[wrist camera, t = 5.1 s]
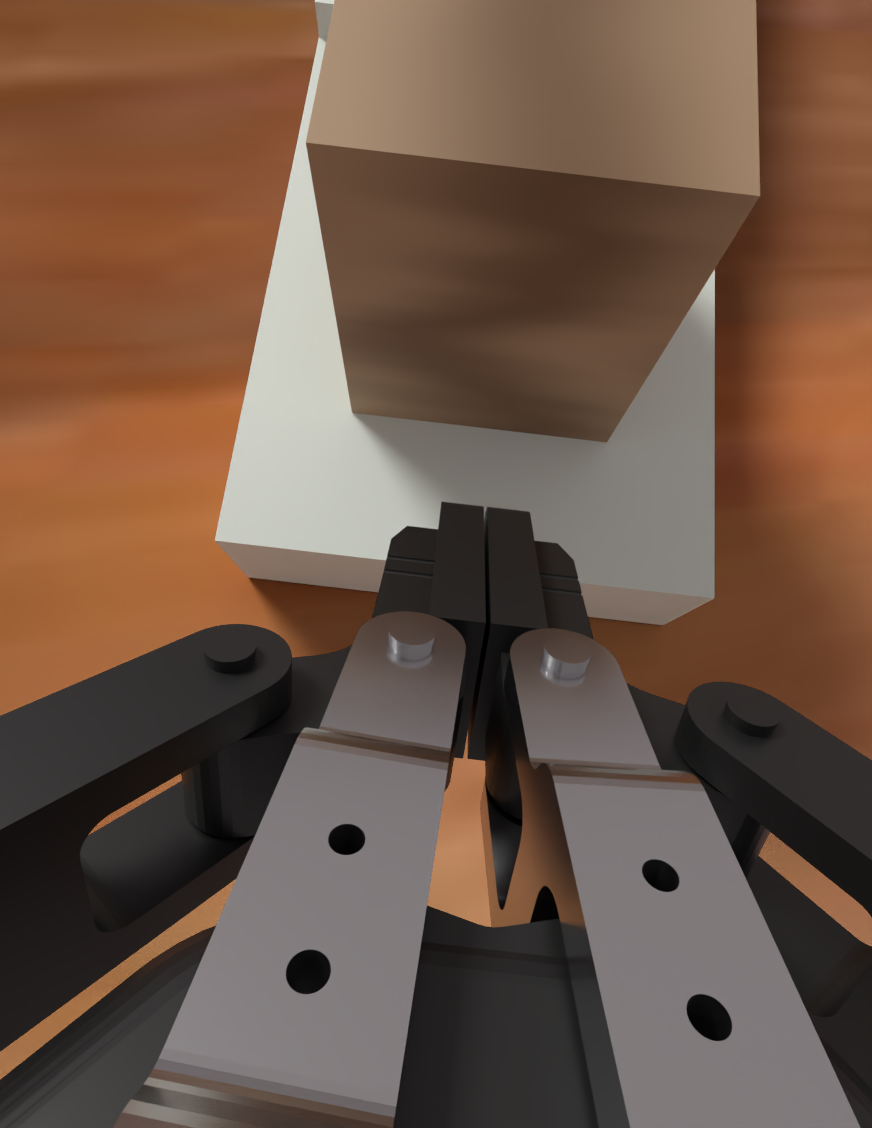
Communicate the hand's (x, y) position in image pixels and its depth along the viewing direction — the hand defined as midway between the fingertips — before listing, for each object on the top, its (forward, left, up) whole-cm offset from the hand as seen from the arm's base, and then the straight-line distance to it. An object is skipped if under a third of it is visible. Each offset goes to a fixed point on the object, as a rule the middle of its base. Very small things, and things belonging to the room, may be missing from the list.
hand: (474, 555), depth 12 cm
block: (0, +8, -4) cm, 9 cm away
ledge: (0, +9, -8) cm, 12 cm away
